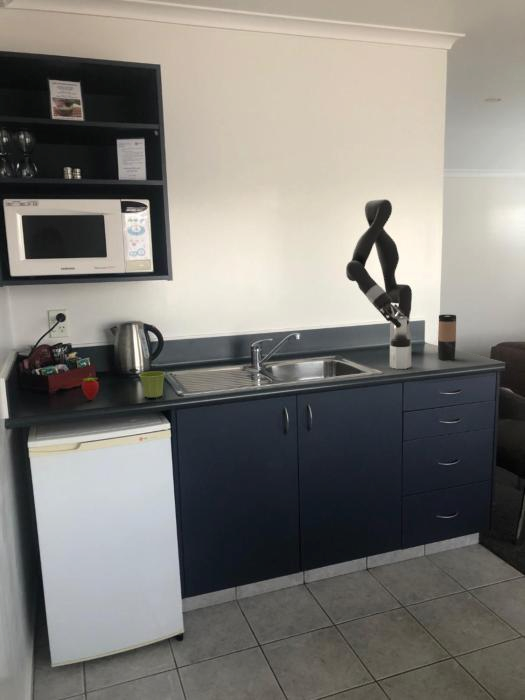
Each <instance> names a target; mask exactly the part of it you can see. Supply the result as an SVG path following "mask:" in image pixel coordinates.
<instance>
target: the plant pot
mask: <svg viewBox="0 0 525 700" xmlns="http://www.w3.org/2000/svg"><path fill="white" fill-rule="evenodd" d="M165 375H166V372H165V371H158V370H157V371H155V370H154V371H146V372H142V373H140V374H138V377H140V378H139V379H140V381H141V385H142V388H143V394H144V397H145V396H146V397H158V396H161V395H162V396H163V391H164V390H163V389H164V379H165ZM158 398H159V397H158Z"/></svg>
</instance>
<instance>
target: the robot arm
mask: <svg viewBox="0 0 525 700" xmlns="http://www.w3.org/2000/svg"><path fill="white" fill-rule="evenodd" d="M392 211H393V207H392V203H391V201H390V200H389V199H385V198H382V199H375V200H374V199H373V200H368V201H367V202H366V203H365V206H364V214H365V215H364V216H365V218H366V219H365V220H366V221H367V225H368V228H367V230H366V231H365V232H363V234H362V235H361V236H360V237H359V239H358V240H357V242H356V245H355V247H354V249H353V252H352V257H351V260H350V261H349V262H348V263H347V264H346V267H345V268H346V269H345V270H346V271H345V275H346V278H347V279H348V280H349V281H351V282H356V283H357V286H358V288H359V290H360V291H361V292H362V294H364V296H365V297H366V298H367V300H368V301H369V303H370V304H372V306H374V308H375V309H376V310H377V311H378V312H379V313H380V314H381V316H382V317H383V318H385V320H386V322H389V347H390V346H391V339H394V325H395V326H396V327H397V328H399V327H400V326H401V323H400V322H399V321H398V320H397V319H396V318H395V316H406V317H407V339H410V345H411V346H412V333H411V332H410V323H411V322H410V319H411V317H410V316H411V310H412V299H413V291H412V287H411V286H410V285H408V284H399V283H397V280H396V270H397V268H398V264H399V262H400V261H399V260H400V256H399V251H398V247H397V244H396V242H395V240H394V239H393V238H392V236H390V235H389V234H388V232H387V231H386V230H385V229H384V227H385V225H387V223H388V222H389V219H390V217H391V215H392ZM374 245H375V248H376V252H377V258H378V261H379V264H380V267H381V273H382V276H383V282H384V288H385V290H384V288H382V286H380V285H379V284H378V283H377V282H376V281H375V280H374V279H373V278H372V276H371V275H370V274H369V272H368V270H367V269H366V268H365V267H366V265H367V264H366V263H367V261H368V259H369V257H370V255H371V252H372V250H373V247H374Z"/></svg>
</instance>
